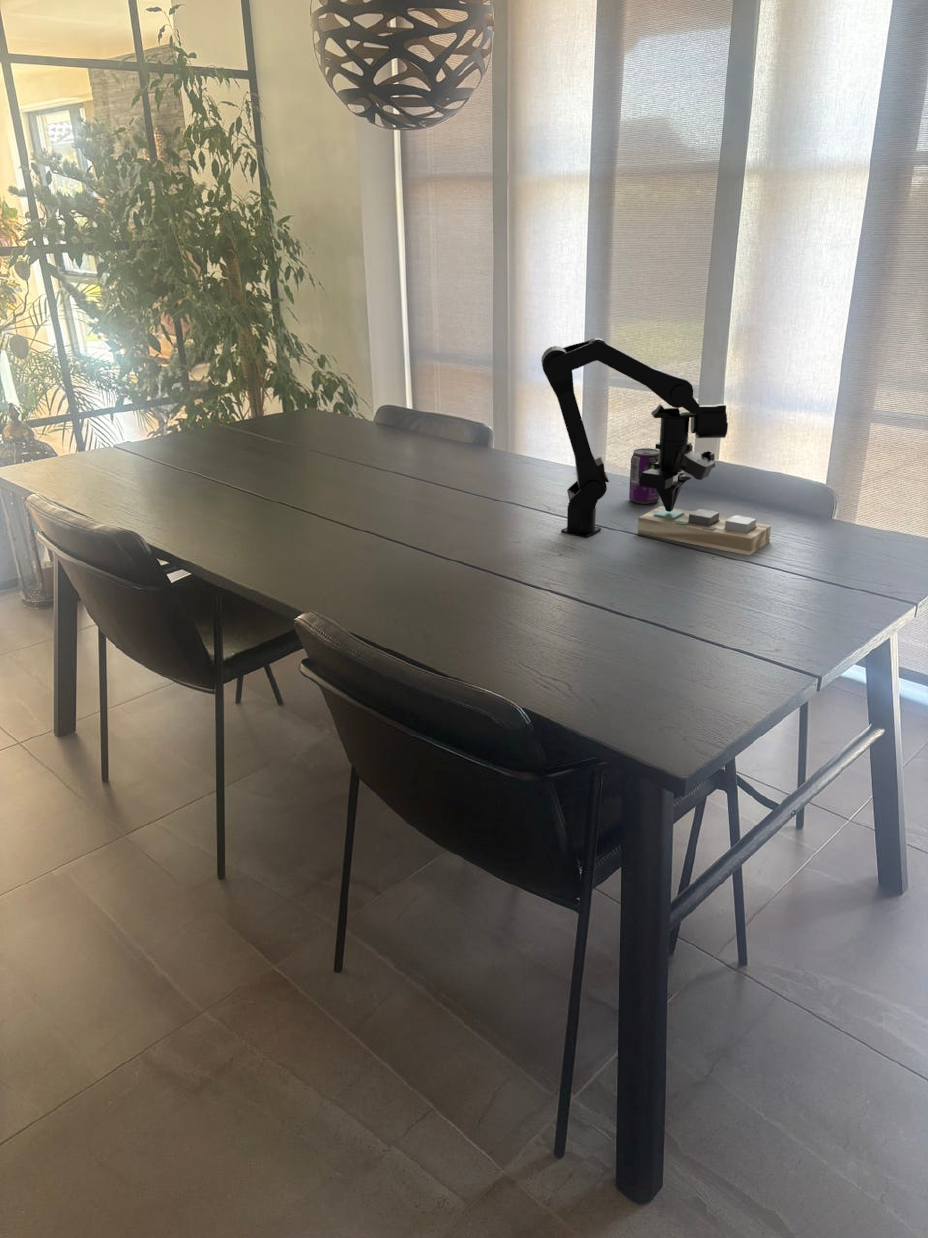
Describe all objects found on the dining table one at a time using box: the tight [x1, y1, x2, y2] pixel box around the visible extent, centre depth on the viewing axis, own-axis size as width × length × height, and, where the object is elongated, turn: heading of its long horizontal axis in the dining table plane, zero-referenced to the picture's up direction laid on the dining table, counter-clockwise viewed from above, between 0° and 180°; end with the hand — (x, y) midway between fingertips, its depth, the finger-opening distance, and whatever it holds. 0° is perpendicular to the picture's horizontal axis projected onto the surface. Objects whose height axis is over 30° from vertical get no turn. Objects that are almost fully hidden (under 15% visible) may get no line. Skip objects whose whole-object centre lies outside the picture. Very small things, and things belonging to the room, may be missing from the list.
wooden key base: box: [637, 505, 772, 556], centre depth 195 cm, size 10×25×4 cm, turn 51°
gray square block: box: [688, 508, 720, 527], centre depth 194 cm, size 5×5×3 cm
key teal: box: [654, 509, 684, 520], centre depth 199 cm, size 5×5×3 cm
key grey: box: [725, 514, 757, 534], centre depth 189 cm, size 5×5×3 cm
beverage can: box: [628, 447, 661, 505], centre depth 219 cm, size 7×7×12 cm
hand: (669, 511), depth 198 cm, fingers closed
